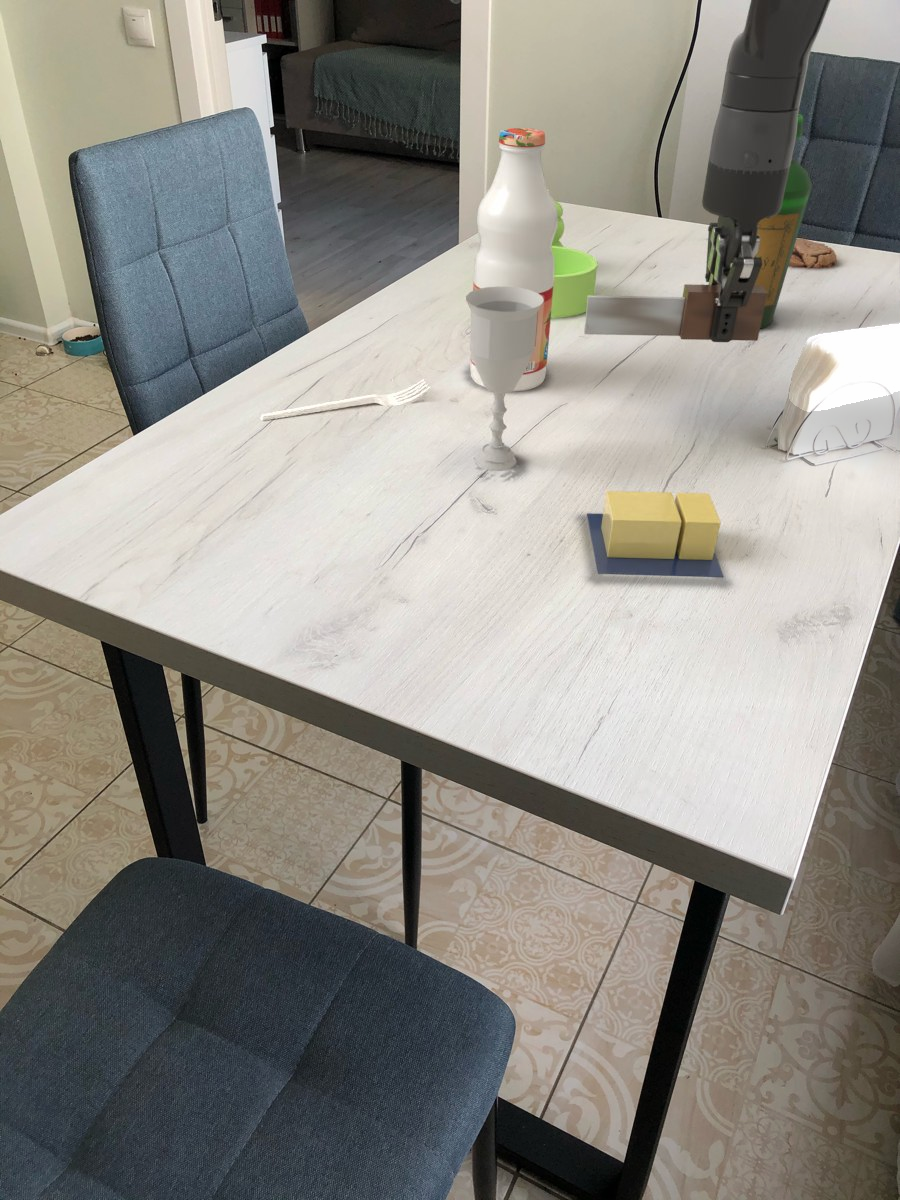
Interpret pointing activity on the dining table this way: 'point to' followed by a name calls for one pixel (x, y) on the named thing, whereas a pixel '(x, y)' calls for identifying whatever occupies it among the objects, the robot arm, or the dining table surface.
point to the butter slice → (696, 526)
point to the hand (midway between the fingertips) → (717, 334)
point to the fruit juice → (519, 237)
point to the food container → (570, 276)
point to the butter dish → (647, 564)
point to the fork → (355, 402)
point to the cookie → (812, 255)
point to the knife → (671, 314)
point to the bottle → (782, 234)
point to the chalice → (501, 355)
